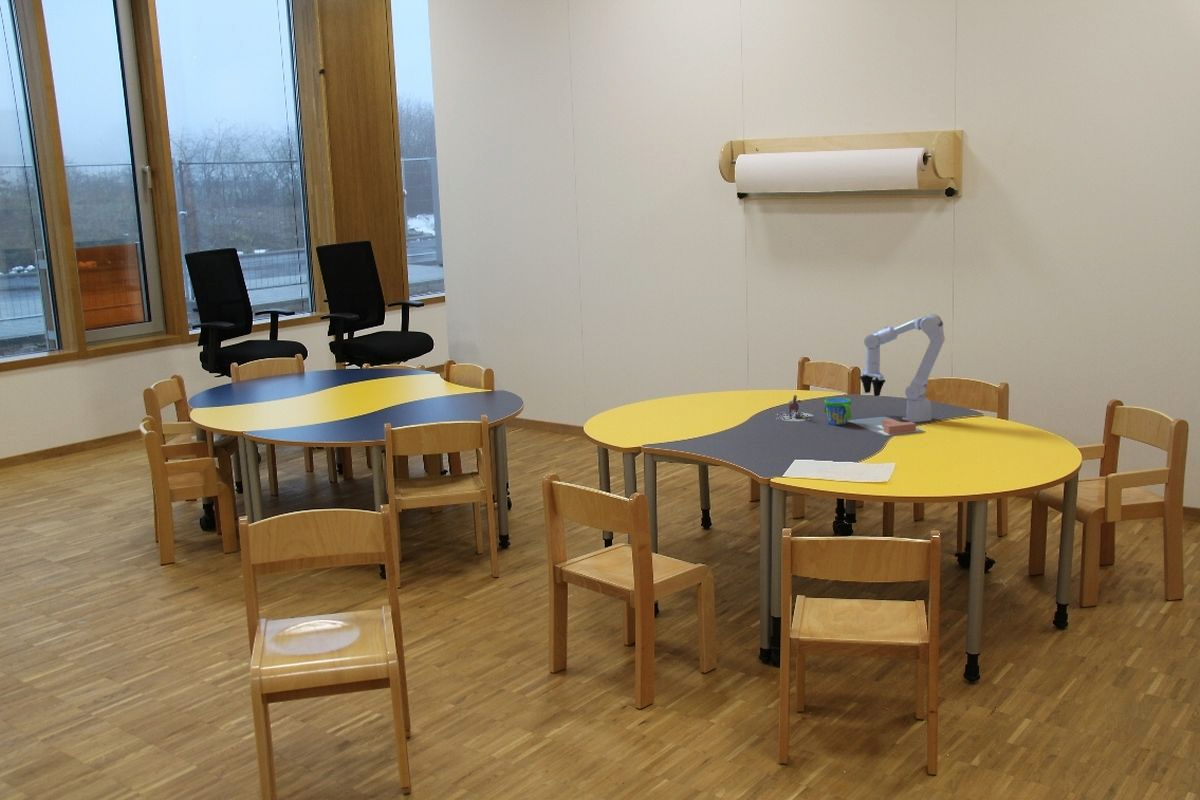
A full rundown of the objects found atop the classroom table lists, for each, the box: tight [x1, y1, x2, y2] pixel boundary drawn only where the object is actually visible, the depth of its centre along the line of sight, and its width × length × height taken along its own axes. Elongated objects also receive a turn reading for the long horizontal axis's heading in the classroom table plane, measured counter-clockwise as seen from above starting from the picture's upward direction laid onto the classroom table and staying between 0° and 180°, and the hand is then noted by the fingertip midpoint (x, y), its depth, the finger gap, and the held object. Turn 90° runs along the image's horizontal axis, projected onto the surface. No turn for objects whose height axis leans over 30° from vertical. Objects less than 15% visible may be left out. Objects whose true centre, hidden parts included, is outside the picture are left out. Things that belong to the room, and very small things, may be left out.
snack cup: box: [823, 396, 852, 426], centre depth 464 cm, size 16×10×10 cm
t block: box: [882, 418, 917, 434], centre depth 450 cm, size 12×12×3 cm
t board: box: [847, 416, 926, 438], centre depth 458 cm, size 18×30×1 cm, turn 17°
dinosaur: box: [776, 394, 814, 422], centre depth 480 cm, size 18×18×11 cm
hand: (872, 394), depth 475 cm, fingers open, 7 cm apart
